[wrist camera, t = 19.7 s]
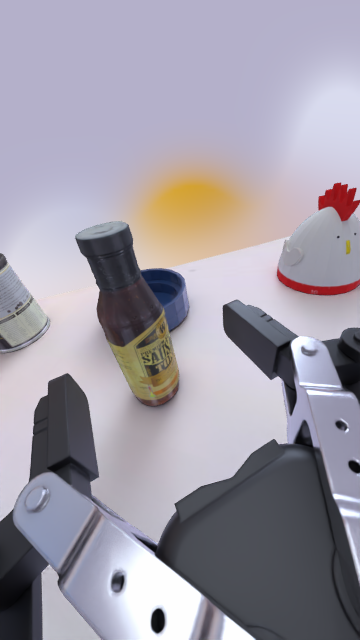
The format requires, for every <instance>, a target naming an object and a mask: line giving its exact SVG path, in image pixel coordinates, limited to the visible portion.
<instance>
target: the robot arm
mask: <svg viewBox="0 0 360 640" xmlns="http://www.w3.org/2000/svg"><path fill="white" fill-rule="evenodd" d="M223 327H224V331H225V333H226V335H227V336H228V337H229V338H230V339H231V340H232V341H233V342H234V343H235V344H236V345H237V346H238V347H239V348H240V349H241V350H242V351H243V352H244V353H245V354H246V355H247V356H248V357H249V358H250V359H251V360H252V361H253V362H254V363H255V364H256V365H257V366H258V367H259V368H260V369H261V370H262V372H263V373H264V374H265V375H266V376H267V377H268V378H269V379H270V380H272V379H274V378H275V377H277V376H279V377H280V378H281V379H282V389H283V396H284V402H285V408H286V414H287V440H288V443H286V444H278V443H277V442H276V441H275V439H273V440H271V441H270V442H268V443H267V444H265V445H264V446H262V447H261V448H259V449H258V450H256V451H255V452H253V453H252V454H251V455H250V456H249V458H248V459H247V460H246V461H245V463H244V464H243V465H242V466H241V468H240V469H239V470H238V471H237V473H236V474H235V475H234V476H233V477H232V478H230V479H226V480H223V481H219V482H215V483H212V484H208V485H204V486H201V487H200V488H198V489H197V490H195V491H193V492H192V493H190V494H189V495H187V496H186V497H184V498H183V499H181V500H180V501H178V502H177V503H175V507H176V510H177V511H176V512H175V514H174V515H173V516H172V517H171V519H170V520H169V522H168V524H167V525H166V527H165V529H164V531H163V533H162V536H161V538H160V541H159V544H157V543H156V542H154V541H153V540H152V539H150V538H149V537H148V536H146V535H145V534H144V533H142V532H141V531H140V530H138V529H137V528H135V527H134V526H132V525H131V524H129V523H128V522H127V521H125V520H124V519H123V518H121V517H120V516H119V515H118V514H116V513H115V512H114V511H112V510H111V509H110V508H109V507H107V506H106V505H105V504H103V503H102V502H101V501H100V500H98V499H97V498H96V497H94V496H93V495H92V494H91V485H90V482H91V481H93V480H94V479H96V478H98V477H99V473H98V466H97V460H96V453H95V446H94V439H93V432H92V425H91V418H90V411H89V405H88V400H87V398H86V395H85V393H84V392H83V390H82V389H81V388H80V387H79V385H78V384H77V383H76V382H75V381H74V379H73V378H72V377H71V376H70V375H69V374H68V373H67V374H64V375H62V376H60V377H58V378H55V379H53V380H51V381H49V383H48V395H47V396H45V397H42V398H41V399H40V401H39V403H38V405H37V407H36V409H35V413H34V426H33V435H34V436H33V440H32V453H31V467H30V478H29V483H28V484H27V485H26V486H25V487H24V489H23V490H22V491H21V493H20V495H19V496H18V499H17V501H16V503H15V506H14V509H13V510H12V511H11V512H10V513H9V514H8V515H7V516H6V517H5V518H4V519H3V520H2V521H0V640H42V585H41V572H42V571H43V570H44V569H45V568H46V567H47V566H48V565H49V564H50V565H51V566H52V567H53V569H54V570H55V571H56V572H57V574H58V576H59V579H58V586H59V588H60V590H61V592H62V593H63V595H64V596H65V597H66V598H67V600H68V601H69V602H70V603H71V604H72V605H73V607H74V608H75V609H76V610H77V611H78V612H79V613H80V615H81V616H82V617H83V618H84V619H85V620H86V622H87V623H88V624H89V625H90V626H91V627H92V628H93V630H94V631H95V632H96V633H97V634H98V635H99V637H100V638H101V639H102V640H360V328H348V329H346V330H344V331H343V332H342V334H341V337H340V338H338V339H332V340H327V341H319V340H318V339H315V338H312V337H299V336H297V335H296V334H294V333H293V332H291V331H290V330H289V329H287V328H286V327H284V326H283V325H282V324H280V323H279V322H277V321H276V320H275V319H274V320H273V318H272V317H270V316H269V315H267V314H266V313H265V312H264V311H262V310H261V309H259V308H257V307H254V306H251V305H247V306H246V305H244V304H243V303H242V302H240V301H239V300H234V301H232V302H230V303H228V304H225V305H224V306H223Z"/></svg>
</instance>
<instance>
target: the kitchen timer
mask: <svg viewBox="0 0 360 640" xmlns="http://www.w3.org/2000/svg"><path fill="white" fill-rule="evenodd" d="M347 187H348V184H346V185H341V183H336V184H334V186H333V189H330V190H326V192H325V195H324V196H319V201H318V203H319V204H318V206H319V211H317V212H316V213H314V214H313V215H311V216H310V217H308V218H307V219H306V220H305V221H304V222H303V223H302V224H301V225H300V226H299V227H298V228H297V229H296V231H295V232H294V233H293V234H292V236H291V237H290V239H289V240H285V242H284V246H283V251H282V254H281V257H280V259H279V263H278V270H277V276H278V278H279V280H280V281H281V282H282V283H283V284H285V285H286V286H288V287H290V288H292V289H294V290H297V291H300V292H304V293H308V294H316V295H335V294H341V293H346V292H348V291H351V290H353V289H355V288H356V287H357V286H358V285H360V221H359V220H358V218H357V217H356V215H355V214H354V213H353V212H354V211H355V209H356V208H357V207H358V205H359V203H360V200H357V201H353V200H354V196H355V192H356V188H353V189H349V191H348V192H347Z"/></svg>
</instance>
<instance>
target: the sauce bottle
mask: <svg viewBox="0 0 360 640" xmlns="http://www.w3.org/2000/svg"><path fill="white" fill-rule="evenodd" d="M75 237H76V241H77V244H78V246H79V249H80V251H81V253H82V254H83V255H84V256H85V257H86V258H87V260H88V262H89V264H90V267H91V270H92V272H93V274H94V277H95V279H96V284H97V286H98V287H99V289H100V292H99V299H98V303H97V316H98V319H99V322H100V324H101V325H102V328H103V329H104V332H105V336H106V339H107V341H108V343H109V345H110V347H111V349H112V351H113V353H114V355H115V357H116V359H117V361H118V363H119V365H120V367H121V370H122V372H123V374H124V376H125V378H126V380H127V382H128V384H129V386H130V388H131V390H132V392H133V393H134V394H135V396H136V398H137V399H138V400H139V401H141V402H142V403H143V404H146V405H149V406H158V405H161V404H164V403H165V402H167V401H168V400H170V399H171V398H172V397H173V396H174V395H175V393H176V391H177V390H178V386H179V370H178V366H177V362H176V358H175V354H174V350H173V345H172V341H171V337H170V333H169V329H168V325H167V320H166V316H165V312H164V308H163V306H162V304H161V303H160V302H159V301H158V299H157V298H156V296H155V295H154V293H153V292H152V290H151V289H150V287H149V286H148V284H147V283H146V281H145V280H144V278H143V277H142V275H141V271H140V269H139V267H138V264H137V260H136V257H135V254H134V250H133V238H132V234H131V232H130V229H129V225H128V224H126V223H125V222H120V221H118V222H109V223H104V224H100V225H96V226H93V227H90V228H87V229H85V230H82V231H81V232H79V233H78V234H76V236H75Z"/></svg>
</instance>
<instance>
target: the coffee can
mask: <svg viewBox="0 0 360 640" xmlns="http://www.w3.org/2000/svg"><path fill="white" fill-rule="evenodd" d="M49 324H50V320H49V318H48V317H47V316H46V315H45V313H44V312H43V311H42V309H41V308H40V306H39V305H38V304H37V302H36V301H35V300H34V298H33V297H32V295H31V294H30V293H29V291H28V290H27V288H26V287H25V286H24V284H23V283H22V281H21V280H20V279H19V277H18V276H17V274H16V273H15V272H14V271H13V269H12V268H11V266H10V265H9V263H8V262H7V261H6V258H5V256H4V255H3V254H1V253H0V352H4V353H5V352H12V351H16V350H19V349H21V348H24V347H26V346H28V345H30V344H31V343H33V342H34V341H36V340H37V339H39V338H40V337H41V336H42V335H43V334H44V333H45V332H46V330H47V329H48V327H49Z"/></svg>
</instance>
